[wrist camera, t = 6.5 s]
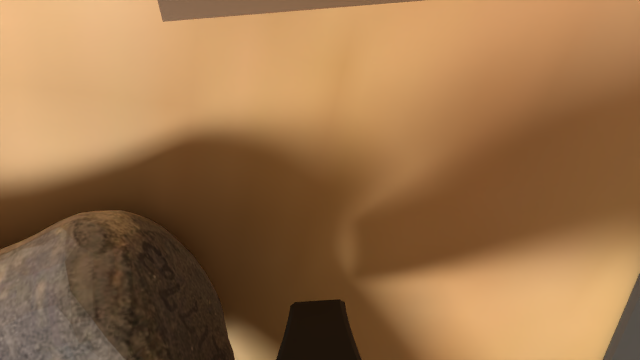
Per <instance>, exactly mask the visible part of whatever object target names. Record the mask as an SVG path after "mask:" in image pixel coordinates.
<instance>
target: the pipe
mask: <svg viewBox="0 0 640 360" xmlns="http://www.w3.org/2000/svg"><path fill="white" fill-rule="evenodd" d="M0 360H235V358H234V353H233V350H232V347H231V344H230V342H229V339H228V333H227V329H226V325H225V320H224V314H223V309H222V306H221V303H220V300H219V297H218V295H217V293H216V290H215V289H214V287H213V285H212V284H211V282H210V280H209V278H208V276H207V274H206V272H205V271H204V270H203V268H202V267H201V266H200V264H199V263H198V261H197V260H196V259H195V257H194V256H193V255H192V254H191V253H190V252H189V251H188V250H187V249H186V248H185V247H184V246H183V245H182V244H181V243H180V242H179V241H178V240H177V239H176V238H175V237H174V236H173V235H172V234H171V233H170V232H168V231H167V230H166V229H165V228H164V227H162V226H161V225H159V224H157V223H155V222H153V221H152V220H150V219H148V218H146V217H143V216H140V215H137V214H134V213H131V212H127V211H123V210H106V211H91V212H83V213H78V214H75V215H73V216H71V217H68V218H66V219H63V220H61V221H59V222H57V223H55V224H53V225H51V226H49V227H48V228H46V229H44V230H42V231H40V232H39V233H37V234H35V235H33V236H31V237H29V238H27V239H25V240H22V241H20V242H18V243H15V244H13V245H10V246H7V247H5V248H2V249H0Z"/></svg>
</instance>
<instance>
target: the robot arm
mask: <svg viewBox="0 0 640 360" xmlns="http://www.w3.org/2000/svg"><path fill="white" fill-rule="evenodd" d="M276 360H362V359H361V357H360V354H359V352H358V349H357V346H356V343H355V341H354V338H353V335H352V332H351V328H350V325H349V321H348V317H347V313H346V308H345V303H344V302H343V301H341V300H340V299H339V300H324V301H309V302H295V303H294V304H292V305H291V306H290V312H289V317H288V322H287V326H286V330H285V333H284V337H283V340H282V343H281V347H280V350H279V353H278V356H277V359H276Z"/></svg>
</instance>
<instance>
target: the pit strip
mask: <svg viewBox="0 0 640 360" xmlns="http://www.w3.org/2000/svg"><path fill="white" fill-rule="evenodd" d="M603 360H640V274H639V277H638V279H637V281H636V284H635V286H634V288H633V291H632V293H631V295H630V298H629V300H628V302H627V305H626V307H625V309H624V312H623V314H622V316H621V319H620V321H619V323H618V326H617V328H616V330H615V333H614V335H613V337H612V340H611V342H610V344H609V347H608V349H607V351H606V354H605V356H604V358H603Z"/></svg>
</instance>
